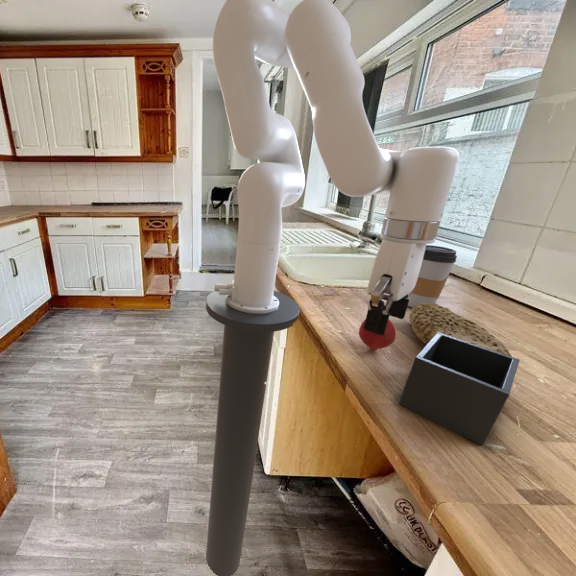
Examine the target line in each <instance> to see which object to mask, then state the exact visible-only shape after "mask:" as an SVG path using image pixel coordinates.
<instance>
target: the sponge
mask: <svg viewBox="0 0 576 576" xmlns="http://www.w3.org/2000/svg"><path fill="white" fill-rule="evenodd" d="M409 323H410V324H411V327H412V332H413V334H414V335H415V336H416V337H417V338H418V339H419V340H420V341H421V342H423V343H424V344H425V346H426V345H427V344H428V343H429V342H430V341H431V339H432V338H433V337H434V336H435V335H436V334H437V333H438V332H439V333H442V334H445V335H448V336H451V337H454V338H457V339H460V340H463V341H466V342H469V343H472V344H475V345H478V346H481V347H484V348H487V349H490V350H493V351H496V352H499V353H502V354H505V355H508V356H511V357H513V356H512V354H511V353H510V351H509V349H508V348H507V347H506V346H505V344H504V343H502V341H500V340H499V339H498V338H496V337H495V336H494V335H493V334H492V333H491V332H489V331H488V330H487V329H485V328H484V327H483V326H481V325H479V324H478V323H477V322H475V321H471V320H469V319H467V318H466V317H464V316H461V315H459V314H457V313H455V312H454V311H452V310H450V309H449V308H448V307H444V306H443V305H440V304H438V303H436V304H435V303H422V304H419V305H416V306H414V308H411V310H410V313H409Z"/></svg>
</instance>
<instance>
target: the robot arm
mask: <svg viewBox="0 0 576 576" xmlns="http://www.w3.org/2000/svg"><path fill="white" fill-rule="evenodd" d="M218 14H219V15H218V16H217V19H216V22H215V25H214V32H213V38H212V59H213V64H214V69H215V73H216V77H217V80H218V83H219V88H220V90H221V95H222V99H223V104H224V109H225V113H226V118H227V121H228V126H229V130H230V135H231V139H232V144H233V147H234V149H235V151H236V153H237V154H238V155H239V156H240V157H243V158H245V159H248V160H258V163H254V164H252V165H250V166H249V167H248V168H246V169H245V171H243V173H242V174H241V176H240V178H239V181H238V184H237V205H238V228H237V229H238V230H237V242H236V243H237V244H236V254H235V263H234V264H235V265H234V274H233V275H234V276H233V279H232V280H231V283H229V282H228V283H227V284H223V283H214V291H219V294H220V295H227V296H226V302H227V304H228V305H229V306H230V307H232V308H234V309H236V310H238V311H241V312H246V313H252V314H265V313H270V312H273V311H275V310H276V309H277V308H278V306H279V300H278V299H277V298H276V297H275V296H274V295H273V294H274V291H275V286H276V281H277V279H276V278H277V271H278V264H279V258H280V252H281V251H280V250H281V245H282V235H283V215H282V208H286V207H290V206H292V205H294V204H295V203H296V202H298V201H299V200H300V198H301V197H302V196H303V193H304V190H305V184H306V179H305V178H306V177H305V172H304V167H303V162H302V158H301V152H300V148H299V142H298V138H297V134H296V130H295V128H294V126H293V124H292V122H291V121H290V120H289V119H288V117H285V116H284V115H282V114H280V113H278V112H275V111H273V109H272V108H271V105H270V102H269V97H268V93H267V89H266V83H265V79H264V76H263V74H262V72H261V69H260V67H259V65H258V62H257V61H258V60H259V61H260V62H262V63H264V64H268V65H270V66H275V67H279V68H286V69H292V70H295V73H296V74H297V77H298V80H299V82H300V85H301V86H302V89H303V92H304V94H305V97H306V99H307V102H308V104H309V107H310V110H311V119H312V126H313V132H314V138H315V142H316V145H317V148H318V151H319V154H320V156H321V157H320V158H321V159H322V162H323V164H324V166H325V169H326V171H327V173H328V176H329V178H330V179H331V182H332V184H333V186H334V187H335V188H336V189H337V190H338V191H339V192H340V193H341V194H343V195H345V196H348V197H350V198H351V197H352V198H361V197H368V196H374V195H386V194H389V198H388V201H387V205H386V210H385V214H384V218H383V222H382V227H381V231H380V235H379V236H380V238H381V239H382V240H381V243H380V245H379V247H378V251H377V253H376V256H375V259H374V262H373V266H372V269H371V273H370V276H369V281H368V283H367V288H366V294H368V295H369V296H370V299H369V301H368V303H369V304H368V306H367V311H366V312H367V313H366V317H365V319H366V320H365V319H364V320H365V325H364V329H365V330H367V331H370V332H373V333H376V334H379V335H384V334H385V331H386V327H387V323H388V319H389V320H390V317H393V318H396V319H399V320H404V319H405V316H406V313H407V310H408V307H409V306H408V303H409V297H410V295H411V291H412V290H413V289H414V287H415V285H416V282H417V279H418V276H419V272H420V269H421V265H422V261H423V257H424V253H425V250H426V249H425V248H426V245H428V244H434V243H435V242H436V238H437V235H438V232H439V228H440V225H441V221H442V217H443V215H444V212H445V207H446V204H447V201H448V197H449V194H450V190H451V187H452V183H453V181H454V177H455V174H456V170H457V167H458V164H459V159H460V154H459V152H458V150H457V149H456V148H455V147H449V146H421V147H420V146H419V147H412V148H408V149H405V150H403V151H402V150H401V151H400V150H390V149H383V148H380V146H379V143H378V142H377V139H376V136H375V134H374V132H373V129H372V127H371V124H370V122H369V119H368V116H367V114H366V110H365V107H364V102H363V100H364V99H363V93H364V92H363V91H364V89H365V83H366V81H365V76H364V73H363V71H362V68H361V66H360V64H359V62H358V59H357V57H356V55H355V52H354V50H353V47H352V45H351V41H352V30H351V27H350V24H349V22H348V20H347V18H345V16H344V15H343V14H342V13H341V11H340V10H339V9H338V8H337V6H336V5H335V4H334V3H333V2H332V1H331V0H302V1H300V2H299V3H298V4H297V5H296V6H295V7H294V8H293V10H292V11H291V12H290V13H287V11H285V10H284V9H282V8H281V7H280V6H279V5H278V4H277V3H276V2H274V1H273V0H226V1H225V2H224V4H223V5H222V7H221V9H220V11H219V13H218ZM406 298H408V299H406ZM385 301H386V302H385Z"/></svg>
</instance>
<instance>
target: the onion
mask: <svg viewBox="0 0 576 576" xmlns="http://www.w3.org/2000/svg"><path fill="white" fill-rule="evenodd" d="M365 320H366V318H365V319H364V320H363V321H362V322H361V325H360V326H359V329H358V334H359V338H360V340H361V342H362V343H363V344H364V345H365V346H367V348H369V349H370V350H372V351H376V350H380V349H385V348H387V347H389V346H391V345H392V344H393V343H394V342H395V341H396V335H397V331H396V327H395V324H394V323H393V322H392V321H391V320H390V318H389V319H388V323H387V327H386V331H385V334H384V335H379V334H376V333H373V332H370V331H367V330H365V329H364V325H365Z"/></svg>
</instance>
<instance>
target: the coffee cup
mask: <svg viewBox="0 0 576 576" xmlns="http://www.w3.org/2000/svg"><path fill="white" fill-rule="evenodd" d="M425 249H426V250H425V253H424V257H423V261H422V265H421V269H420V272H419V276H418V279H417V282H416V285H415V287H414V289H413V290H412V291H411V295H410V297H409V303H408V307H409V308H411V309H413V308H414V306H416V305H419V304H422V303H435V304H437V301H438V299H439V298H440V297H441V296H440V295H441V294H442V291H443V289H444V287H445V285H446V282H447V280H448V279H449V276H450V273H451V271H452V269H453V266H454V265H455V263H456V262H457V258H458V255H456V254H457V250H455V249H453V248H449V247H445V246H440V245H439V246H438V245H430V244H429V245H428V244H426V248H425ZM406 299H408V298H406Z"/></svg>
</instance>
